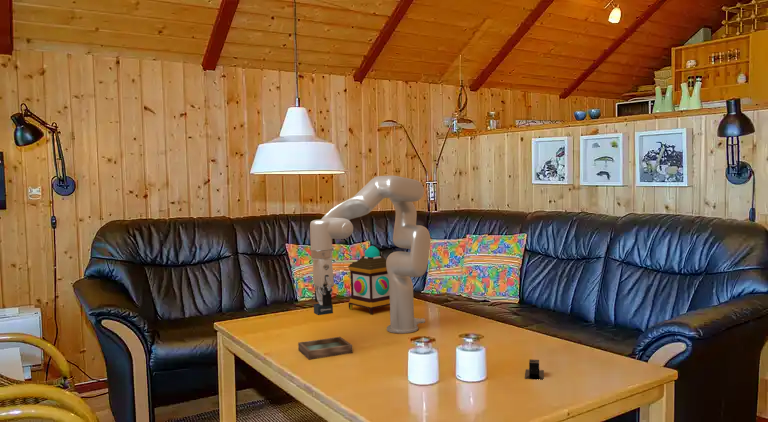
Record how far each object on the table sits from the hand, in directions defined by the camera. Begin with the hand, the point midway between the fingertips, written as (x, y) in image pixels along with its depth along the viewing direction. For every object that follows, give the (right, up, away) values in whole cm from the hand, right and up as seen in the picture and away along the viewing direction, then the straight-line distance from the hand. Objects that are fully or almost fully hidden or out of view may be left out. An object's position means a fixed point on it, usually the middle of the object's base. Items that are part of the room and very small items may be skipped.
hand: (323, 303), depth 213 cm
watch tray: (+1, -17, +1) cm, 17 cm away
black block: (+67, -18, -31) cm, 76 cm away
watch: (0, -4, 0) cm, 4 cm away
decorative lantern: (+17, -14, +69) cm, 72 cm away
